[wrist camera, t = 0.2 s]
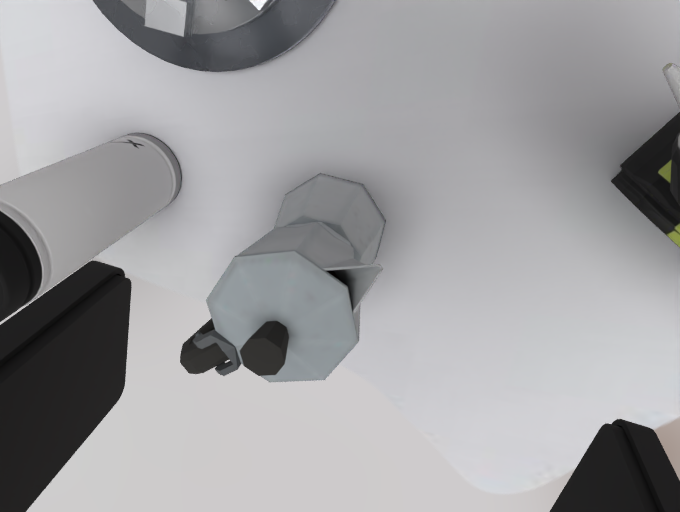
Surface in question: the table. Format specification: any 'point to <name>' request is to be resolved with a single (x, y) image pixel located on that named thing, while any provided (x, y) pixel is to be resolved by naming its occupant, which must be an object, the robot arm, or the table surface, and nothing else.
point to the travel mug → (78, 212)
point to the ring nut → (199, 14)
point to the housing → (223, 36)
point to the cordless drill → (657, 171)
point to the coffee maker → (295, 288)
